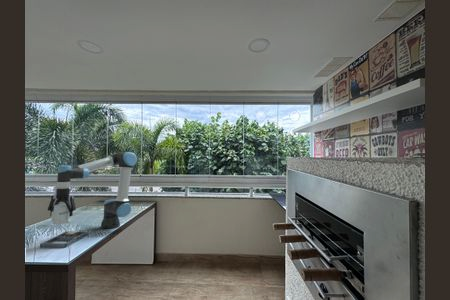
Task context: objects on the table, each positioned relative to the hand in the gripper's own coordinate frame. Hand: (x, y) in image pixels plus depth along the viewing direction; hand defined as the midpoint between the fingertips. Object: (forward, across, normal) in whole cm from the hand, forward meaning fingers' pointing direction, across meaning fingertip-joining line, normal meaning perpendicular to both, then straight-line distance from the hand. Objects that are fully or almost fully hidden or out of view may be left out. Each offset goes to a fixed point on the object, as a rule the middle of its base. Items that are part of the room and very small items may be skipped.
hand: (61, 221), depth 159 cm
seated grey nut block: (+15, 0, -13) cm, 20 cm away
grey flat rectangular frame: (+15, 0, -7) cm, 17 cm away
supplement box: (+2, 0, 0) cm, 2 cm away
